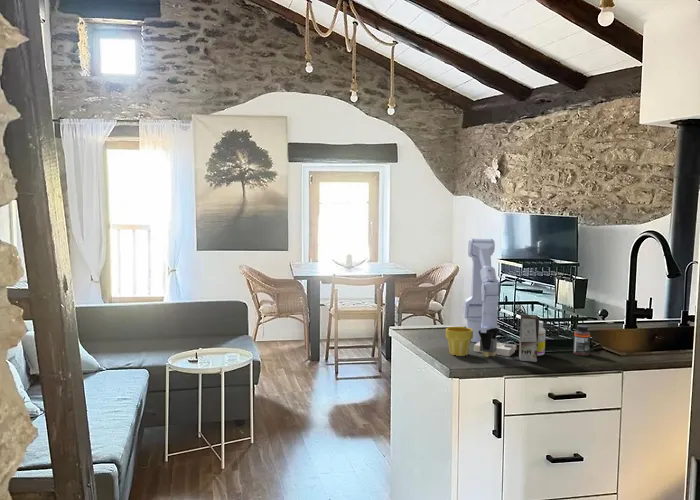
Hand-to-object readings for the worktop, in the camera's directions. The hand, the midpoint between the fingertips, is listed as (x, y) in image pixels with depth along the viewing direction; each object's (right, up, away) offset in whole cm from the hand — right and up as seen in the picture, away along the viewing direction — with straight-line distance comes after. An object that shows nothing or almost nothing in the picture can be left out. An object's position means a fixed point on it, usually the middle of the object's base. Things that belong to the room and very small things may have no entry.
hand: (488, 348), depth 254 cm
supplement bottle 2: (+38, -4, +7) cm, 39 cm away
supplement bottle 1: (+20, -3, +5) cm, 20 cm away
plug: (0, -3, 0) cm, 3 cm away
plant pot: (-11, -3, +2) cm, 12 cm away
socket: (+4, -2, +8) cm, 9 cm away
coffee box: (+15, -4, -2) cm, 15 cm away
